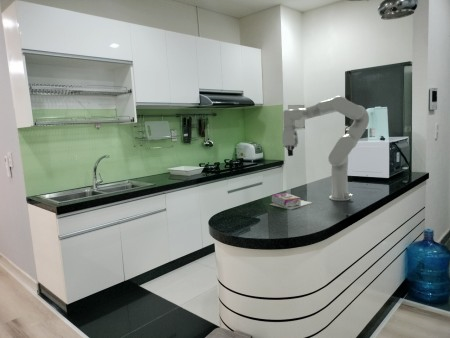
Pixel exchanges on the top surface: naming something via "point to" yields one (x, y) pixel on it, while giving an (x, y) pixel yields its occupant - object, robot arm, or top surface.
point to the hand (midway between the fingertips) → (290, 155)
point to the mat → (293, 206)
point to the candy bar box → (286, 200)
